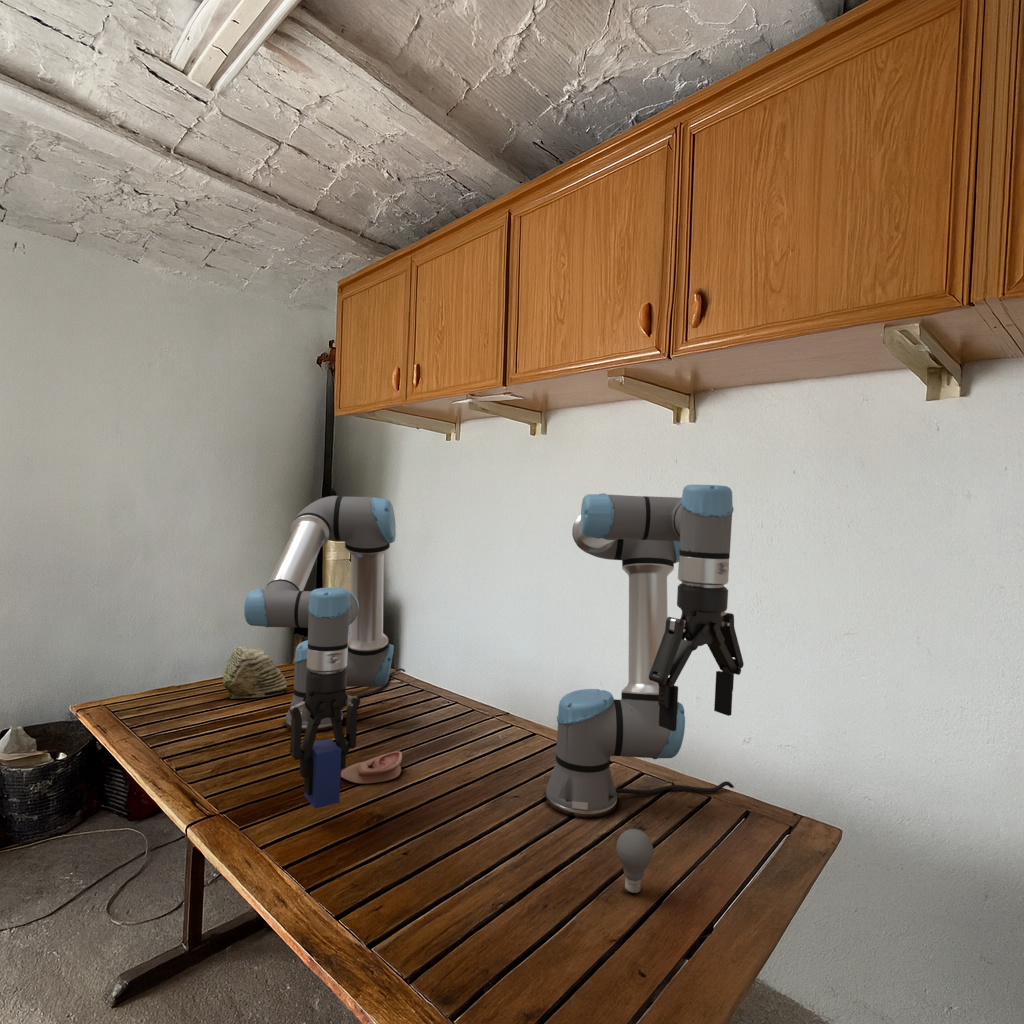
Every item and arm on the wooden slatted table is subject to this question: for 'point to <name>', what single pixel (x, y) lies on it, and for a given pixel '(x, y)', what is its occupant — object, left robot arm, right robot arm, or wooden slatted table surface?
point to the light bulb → (634, 857)
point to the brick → (325, 774)
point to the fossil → (252, 674)
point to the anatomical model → (374, 769)
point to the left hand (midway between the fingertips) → (322, 788)
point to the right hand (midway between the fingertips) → (696, 720)
